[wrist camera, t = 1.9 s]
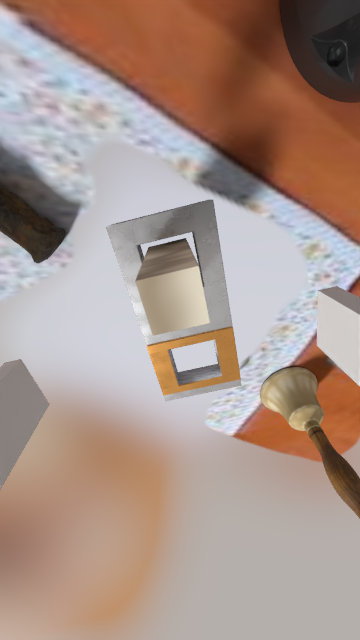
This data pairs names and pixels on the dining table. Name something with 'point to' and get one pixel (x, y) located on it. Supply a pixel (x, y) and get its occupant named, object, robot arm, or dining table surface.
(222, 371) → the grey board
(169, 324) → the peg
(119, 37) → the dining table surface
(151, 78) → the dining table surface
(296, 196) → the dining table surface
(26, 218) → the hand tool
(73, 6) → the dining table surface
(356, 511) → the hand bell
